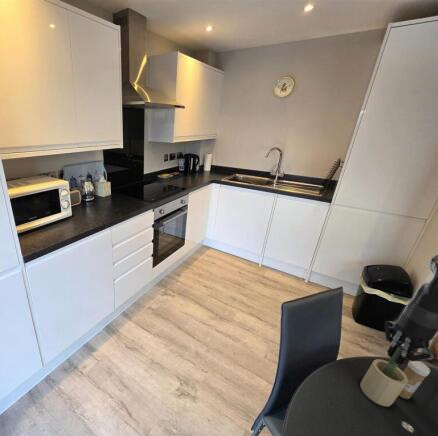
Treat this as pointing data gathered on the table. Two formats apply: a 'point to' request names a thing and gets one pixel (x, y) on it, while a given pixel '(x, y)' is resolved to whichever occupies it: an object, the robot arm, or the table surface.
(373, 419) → the table surface
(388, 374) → the brush
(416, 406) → the table surface
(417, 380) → the sprinkles bottle
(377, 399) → the jar
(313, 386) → the table surface
